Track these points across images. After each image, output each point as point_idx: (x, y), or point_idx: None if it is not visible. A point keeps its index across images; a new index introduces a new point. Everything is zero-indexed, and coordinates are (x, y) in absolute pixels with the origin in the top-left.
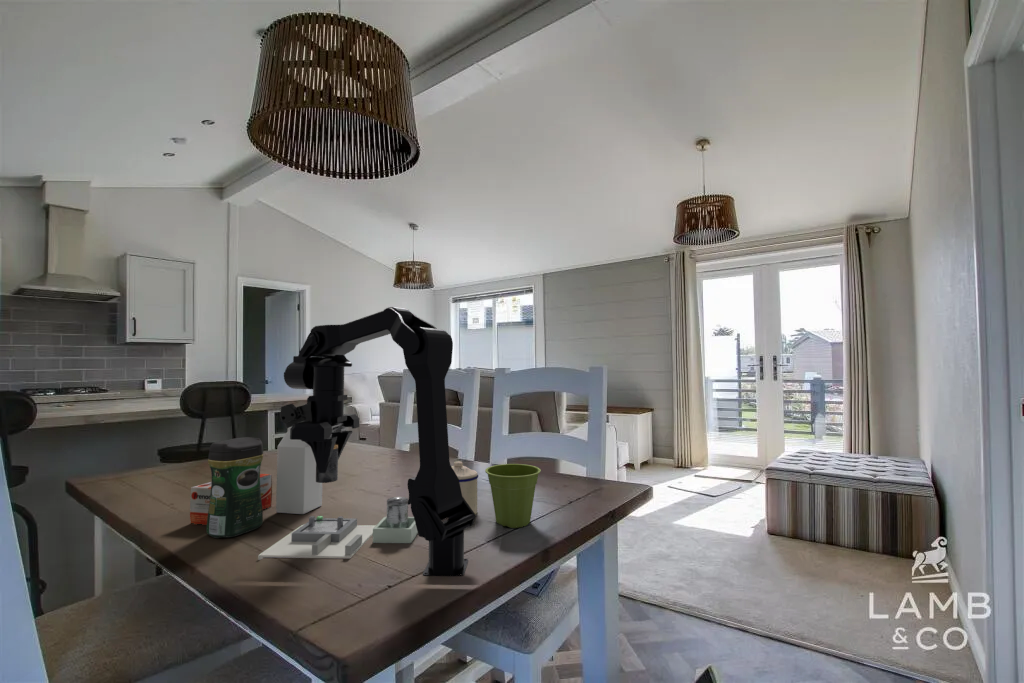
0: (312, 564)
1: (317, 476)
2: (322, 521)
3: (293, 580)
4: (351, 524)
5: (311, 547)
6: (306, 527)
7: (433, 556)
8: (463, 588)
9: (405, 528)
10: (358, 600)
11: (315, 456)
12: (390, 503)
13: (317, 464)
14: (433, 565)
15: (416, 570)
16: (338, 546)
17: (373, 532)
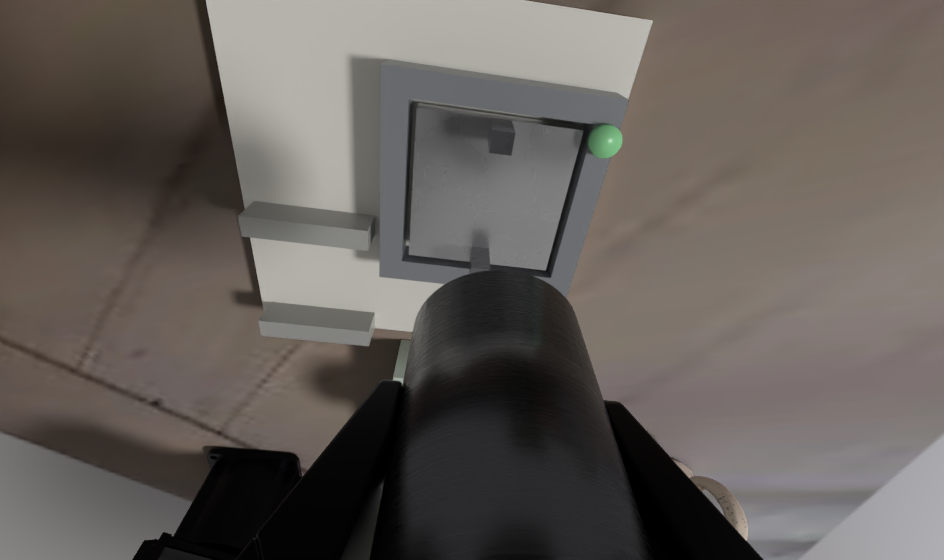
0: (224, 208)
1: (426, 327)
2: (567, 161)
3: (91, 189)
4: None
5: (323, 177)
6: (484, 107)
7: (191, 504)
8: (191, 493)
9: None
10: (66, 363)
11: (252, 550)
12: None
13: (331, 447)
14: (202, 485)
15: (249, 435)
16: (343, 267)
17: (395, 369)
